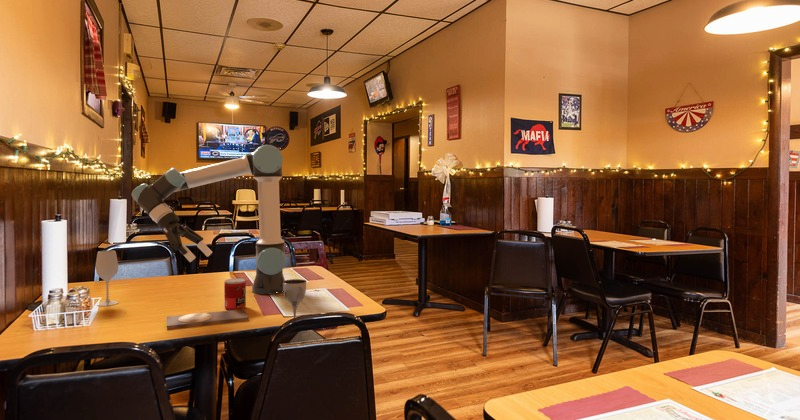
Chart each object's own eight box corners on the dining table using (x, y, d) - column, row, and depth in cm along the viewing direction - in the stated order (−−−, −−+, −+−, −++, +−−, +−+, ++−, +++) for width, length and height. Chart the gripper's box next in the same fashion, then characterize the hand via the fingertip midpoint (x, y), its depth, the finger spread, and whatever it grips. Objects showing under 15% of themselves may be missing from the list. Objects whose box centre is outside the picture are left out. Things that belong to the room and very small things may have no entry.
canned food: (239, 311, 181) (239, 282, 180) (220, 309, 182) (220, 281, 182) (249, 306, 188) (249, 278, 188) (231, 305, 190) (231, 277, 189)
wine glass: (310, 322, 168) (310, 280, 167) (298, 328, 160) (298, 284, 160) (290, 319, 171) (291, 278, 170) (278, 325, 163) (278, 282, 162)
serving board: (243, 312, 179) (243, 308, 179) (248, 320, 169) (248, 316, 169) (166, 320, 168) (166, 315, 168) (166, 329, 157) (166, 325, 157)
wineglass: (123, 302, 190) (122, 251, 189) (104, 307, 184) (103, 253, 182) (110, 300, 194) (109, 249, 192) (91, 304, 187) (90, 251, 186)
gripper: (175, 221, 199) (210, 258, 199) (138, 226, 174) (178, 269, 174) (188, 209, 198) (222, 246, 198) (152, 212, 173) (192, 255, 173)
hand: (201, 257), depth 186 cm, fingers open, 13 cm apart
